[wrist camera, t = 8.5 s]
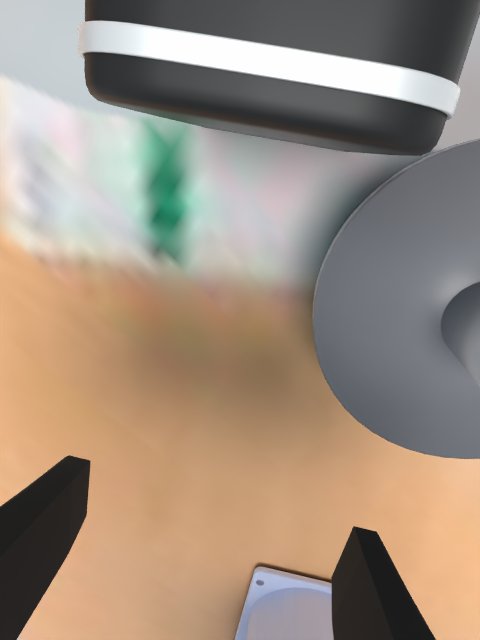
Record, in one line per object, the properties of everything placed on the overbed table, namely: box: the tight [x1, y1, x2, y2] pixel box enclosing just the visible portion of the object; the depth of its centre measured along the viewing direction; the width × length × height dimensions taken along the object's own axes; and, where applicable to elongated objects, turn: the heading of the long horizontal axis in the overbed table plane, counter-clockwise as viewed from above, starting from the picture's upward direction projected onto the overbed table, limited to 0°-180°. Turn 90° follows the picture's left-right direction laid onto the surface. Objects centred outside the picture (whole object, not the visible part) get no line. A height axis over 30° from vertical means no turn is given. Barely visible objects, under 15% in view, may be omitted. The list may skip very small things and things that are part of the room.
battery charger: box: [78, 0, 480, 156], centre depth 11 cm, size 7×4×11 cm, turn 81°
